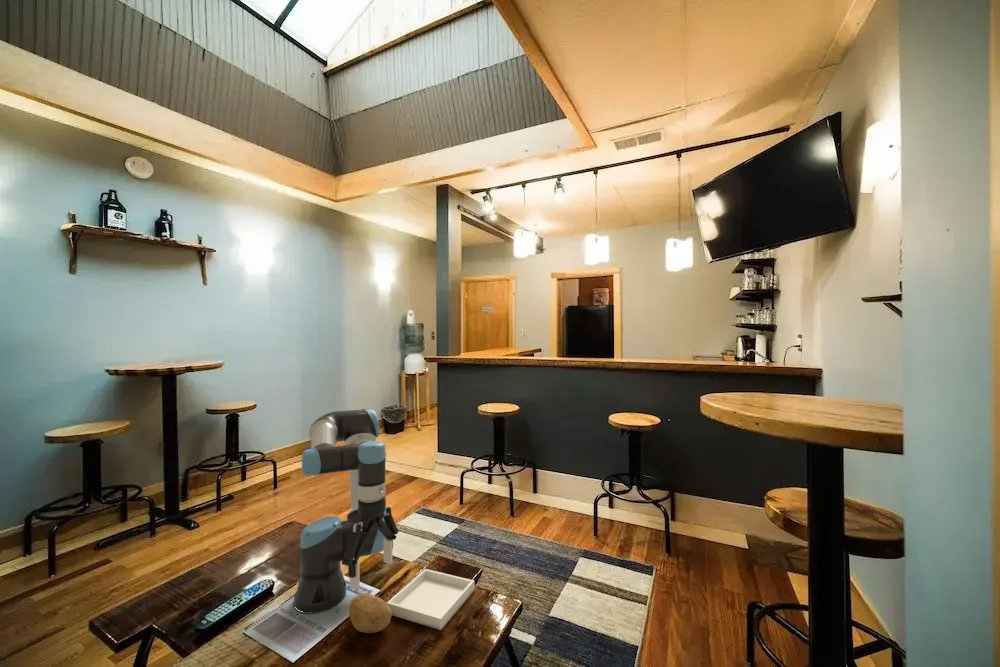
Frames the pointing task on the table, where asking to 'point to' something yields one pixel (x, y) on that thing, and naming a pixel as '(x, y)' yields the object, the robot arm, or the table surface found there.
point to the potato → (369, 613)
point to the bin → (431, 598)
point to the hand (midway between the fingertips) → (372, 574)
